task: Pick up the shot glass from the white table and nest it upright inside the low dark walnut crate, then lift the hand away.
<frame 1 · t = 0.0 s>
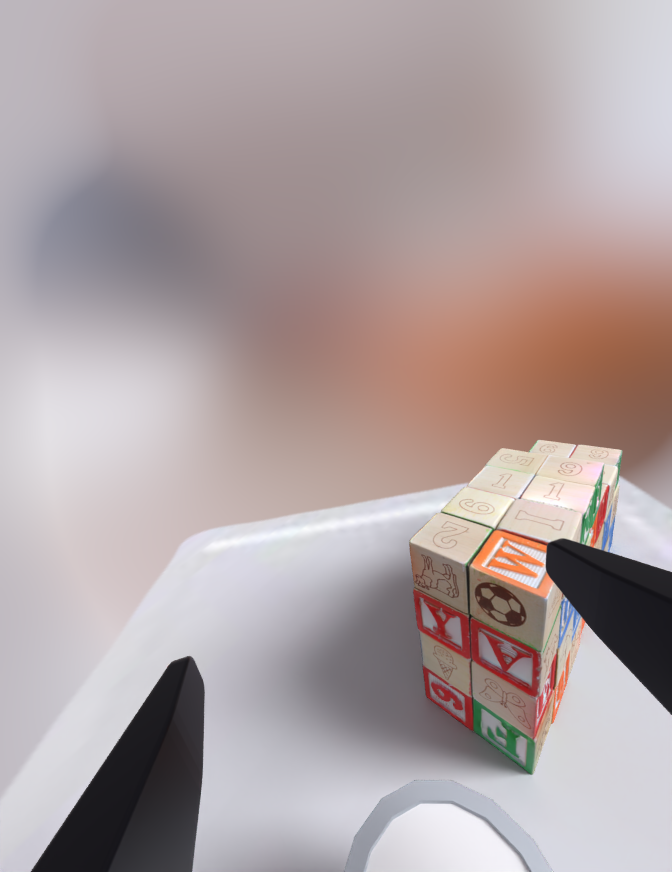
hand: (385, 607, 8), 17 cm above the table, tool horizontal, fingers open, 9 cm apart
stack of blocks: (534, 610, 26), on the table
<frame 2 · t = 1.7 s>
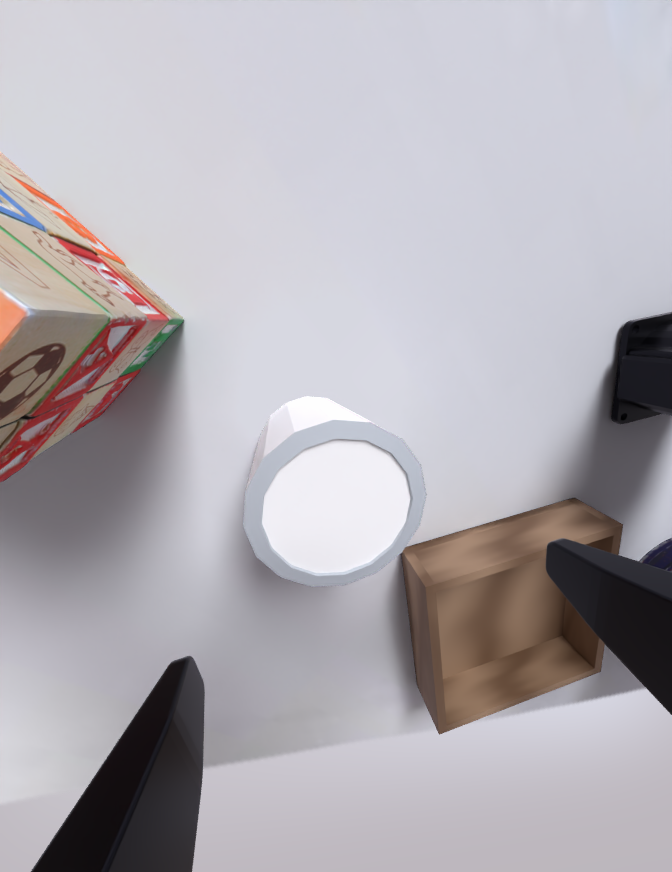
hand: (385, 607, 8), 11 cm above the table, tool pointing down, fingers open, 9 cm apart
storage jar: (662, 580, 30), on the table
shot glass: (310, 445, 19), on the table
walnut crate: (491, 596, 26), on the table
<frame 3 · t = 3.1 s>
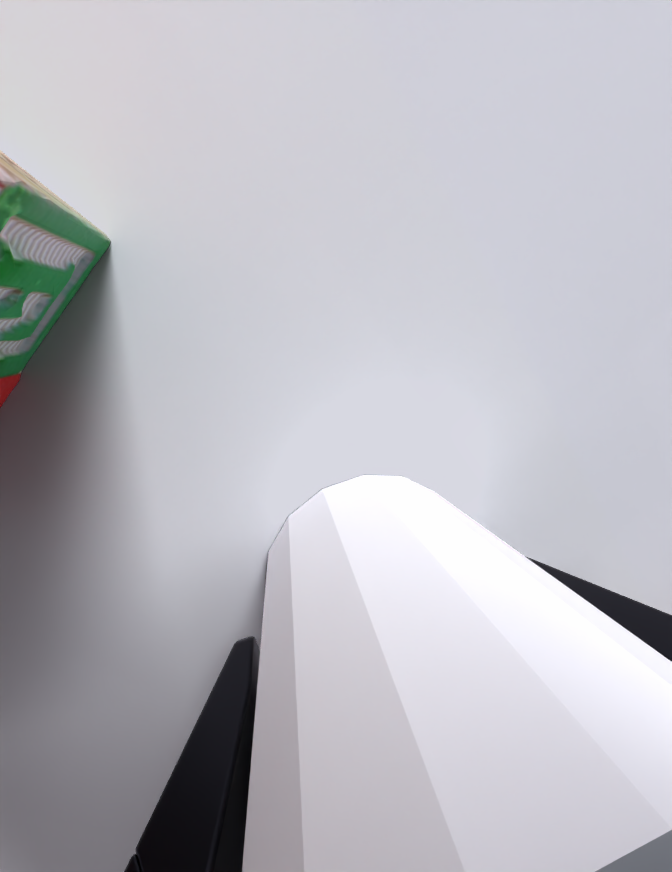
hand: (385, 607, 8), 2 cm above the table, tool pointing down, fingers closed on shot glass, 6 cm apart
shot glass: (364, 560, 10), on the table, touching gripper
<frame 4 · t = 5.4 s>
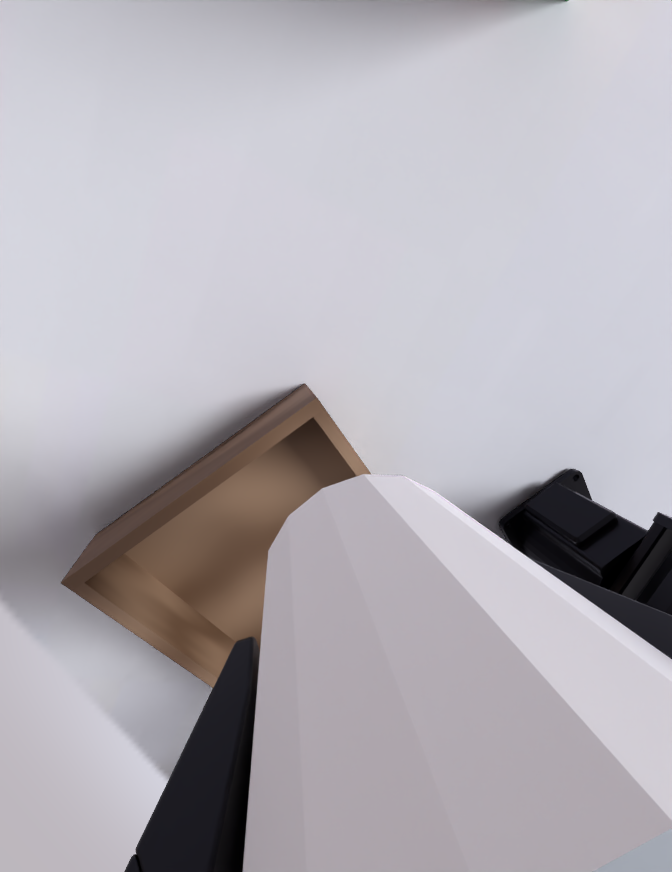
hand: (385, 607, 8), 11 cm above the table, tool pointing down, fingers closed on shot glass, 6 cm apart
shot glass: (364, 560, 10), point 10 cm above the table, touching gripper
walnut crate: (278, 540, 20), on the table
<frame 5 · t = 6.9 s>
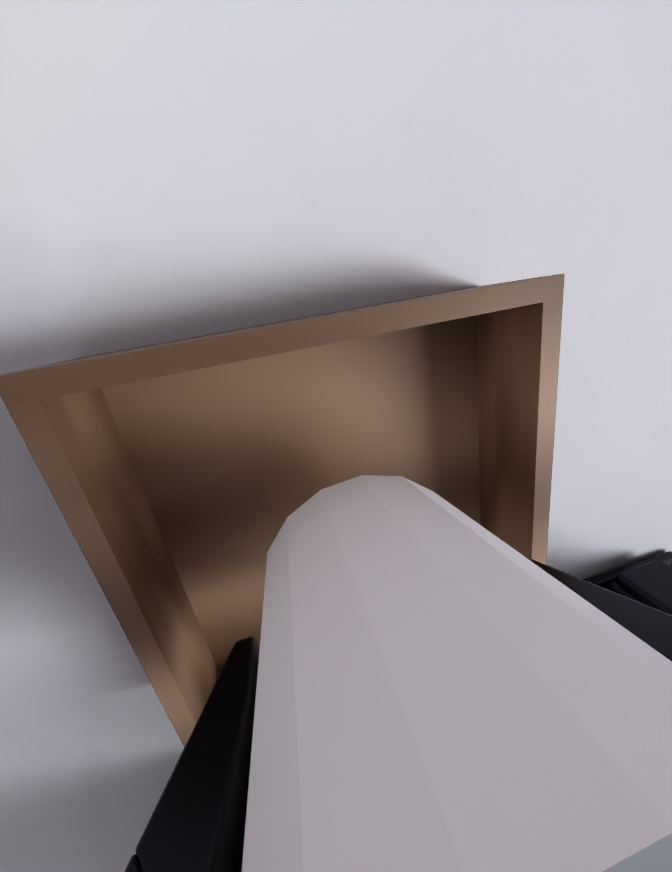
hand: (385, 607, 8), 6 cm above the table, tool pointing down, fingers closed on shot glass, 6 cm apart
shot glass: (363, 561, 10), point 4 cm above the table, touching gripper
walnut crate: (331, 496, 13), on the table
when the fingers open (3 cm above the table, at t = 7.8 s): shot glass drops 1 cm, resting on walnut crate.
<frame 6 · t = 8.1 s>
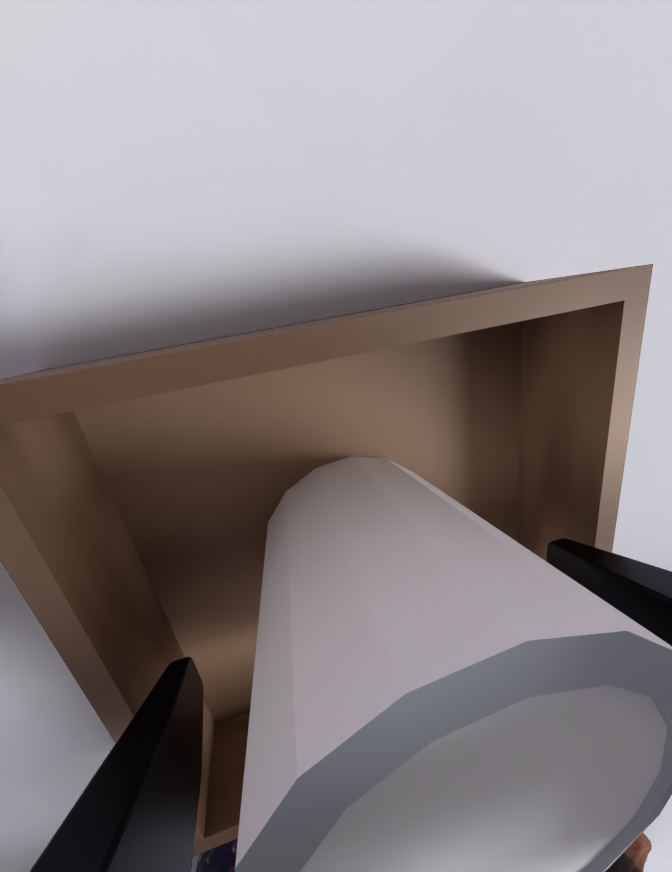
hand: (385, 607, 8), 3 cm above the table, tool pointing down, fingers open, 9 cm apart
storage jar: (301, 840, 17), on the table
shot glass: (352, 534, 11), resting on walnut crate
brown hollow curved piece: (582, 847, 25), on the table
walnut crate: (347, 526, 12), on the table
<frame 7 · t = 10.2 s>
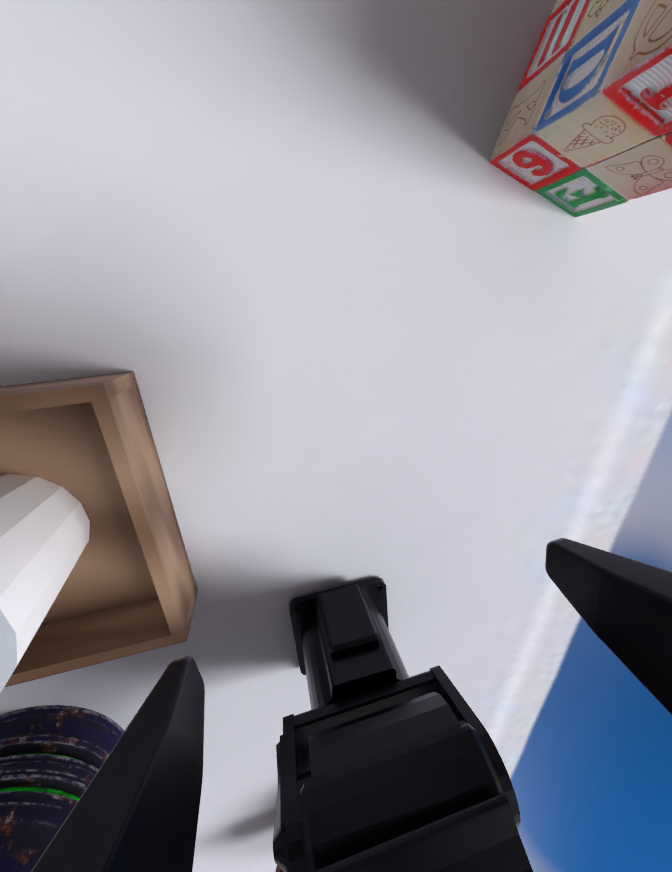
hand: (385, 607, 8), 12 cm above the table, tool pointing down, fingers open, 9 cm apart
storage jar: (48, 756, 22), on the table
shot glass: (27, 524, 17), resting on walnut crate
walnut crate: (30, 519, 17), on the table
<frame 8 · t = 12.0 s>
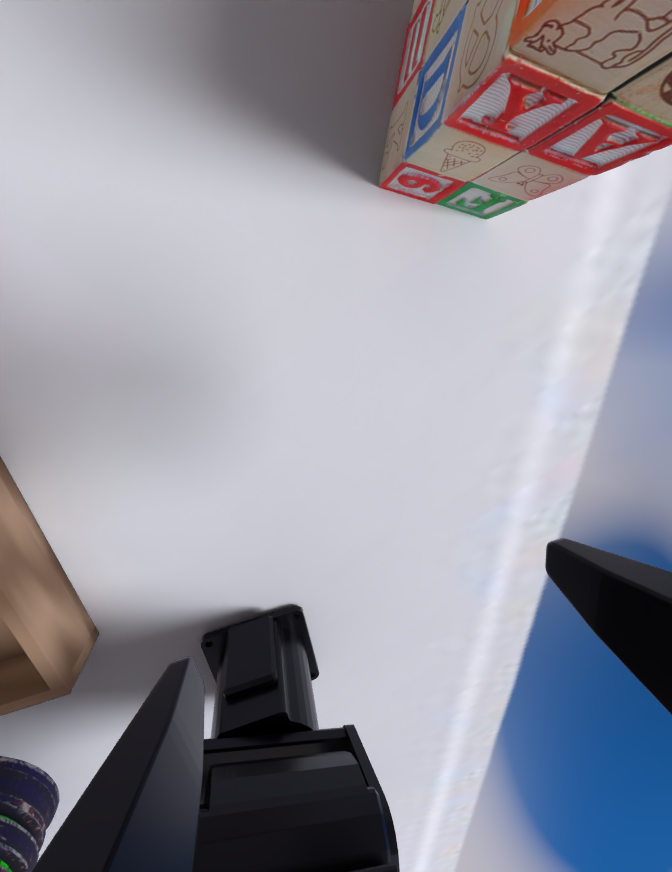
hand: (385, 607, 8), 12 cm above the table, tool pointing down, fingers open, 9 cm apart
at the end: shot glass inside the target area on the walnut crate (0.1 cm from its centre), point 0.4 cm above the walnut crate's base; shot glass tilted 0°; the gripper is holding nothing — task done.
